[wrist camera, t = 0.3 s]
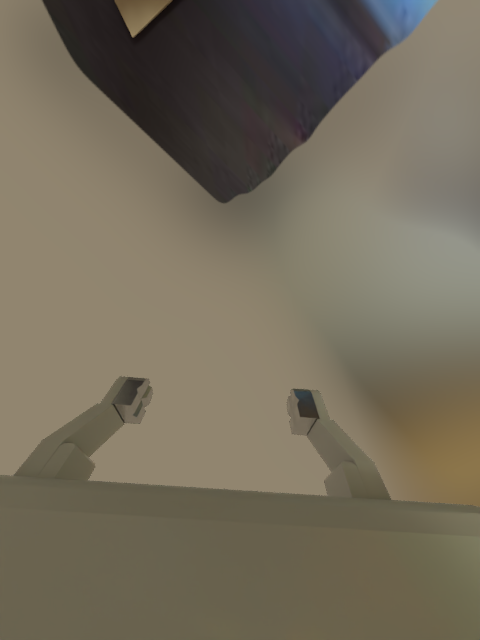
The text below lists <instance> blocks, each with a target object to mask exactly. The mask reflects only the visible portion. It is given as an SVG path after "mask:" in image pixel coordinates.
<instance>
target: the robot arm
mask: <svg viewBox="0 0 480 640" xmlns="http://www.w3.org/2000/svg"><path fill="white" fill-rule="evenodd" d="M149 383H150V381H149V379H145V378H133V377H121V376H120V377H119V378H118V379H117V380H116V381H115V383H114V384H113V386H112V387H111V388H110V390H109V391H108V393H107V394H106V396H105V397H104V399H103V400H102V401H101V403H100V404H96V405H94V406H93V407H91V408H90V409H88V410H87V411H85V412H84V413H82V414H81V415H79V416H78V417H76V418H75V419H73V420H72V421H70V422H69V423H67V424H66V425H64V426H63V427H62V428H60V429H58V430H57V431H55V432H54V433H52V434H51V435H50V436H48V437H46V438H45V439H43V440H42V441H41V443H40V444H39V445H38V446H37V447H36V449H35V450H34V451H33V452H32V453H31V455H30V456H29V457H28V459H27V460H26V461H25V462H24V463H23V464H22V466H21V467H20V468H19V469H18V471H17V472H16V473H15V474H14V475H13V476H8V475H0V640H480V507H477V506H472V505H460V504H445V503H430V502H429V503H428V502H414V501H398V500H391V498H390V496H389V493H388V491H387V489H386V487H385V485H384V483H383V480H382V479H381V476H380V474H379V472H378V470H377V467H376V465H375V463H374V462H373V461H372V460H371V459H370V458H369V457H368V456H367V455H366V454H365V453H364V451H362V449H361V448H360V447H359V446H358V445H357V444H356V443H355V442H354V441H353V440H352V439H351V438H350V437H349V436H348V435H347V434H346V433H345V432H344V431H343V430H342V429H341V428H340V427H339V426H338V425H337V424H336V423H335V421H334V420H330V418H329V415H328V412H327V410H326V407H325V404H324V401H323V398H322V396H321V393H320V392H319V391H318V390H307V389H292V390H291V392H290V394H291V396H289V397H288V400H287V411H288V414H289V415H290V417H291V419H290V421H289V422H290V428H291V433H292V434H297V435H307V437H308V439H309V440H310V442H311V443H312V444H313V446H314V447H315V448H316V450H317V452H318V453H319V454H320V456H321V457H322V459H323V460H324V462H325V463H326V464H327V466H328V467H329V469H330V470H331V472H332V473H331V474H330V475H329V476H328V477H327V478H326V479H325V480H324V483H325V487H326V491H327V495H328V496H320V495H303V494H289V493H273V492H258V491H242V490H227V489H210V488H195V487H180V486H164V485H148V484H133V483H132V484H131V483H117V482H102V481H88V479H89V477H90V476H91V474H92V472H93V470H94V468H95V463H94V462H93V461H92V460H91V459H90V458H89V457H90V456H91V455H92V454H93V453H94V452H95V451H96V450H97V449H98V448H99V447H100V446H101V445H102V444H103V443H105V442H106V441H107V440H108V439H109V438H110V437H111V436H112V435H113V434H114V433H115V432H116V431H117V430H118V429H119V428H120V427H122V426H123V425H124V423H134V424H140V423H141V420H142V418H143V416H144V414H145V412H146V411H145V407H146V406H147V405H148V404H149V403H150V401H151V398H152V387H151V386H149Z"/></svg>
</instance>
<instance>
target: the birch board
mask: <svg viewBox="0 0 480 640" xmlns="http://www.w3.org/2000/svg"><path fill="white" fill-rule="evenodd" d="M114 1H115V3H116V5H117V7H118V9H119V11H120V13H121V15H122V17H123V19H124V21H125V23H126V25H127V27H128V29H129V31H130V33H131V35H132V37H136V36H137V35H138V34H139V33H140V32H141V31H142V30H143V29H144V28H145V27H146V26H147V25H148V24H149V23H150V22H151V21H152V20H153V19H154V18H155V17H156V16H157V15H158V14H159V13H160V12H162V11H163V10H164V9H165V8H166V7H167V6H168V5H169V4H170V3H171V2H172V1H173V0H114Z"/></svg>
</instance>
